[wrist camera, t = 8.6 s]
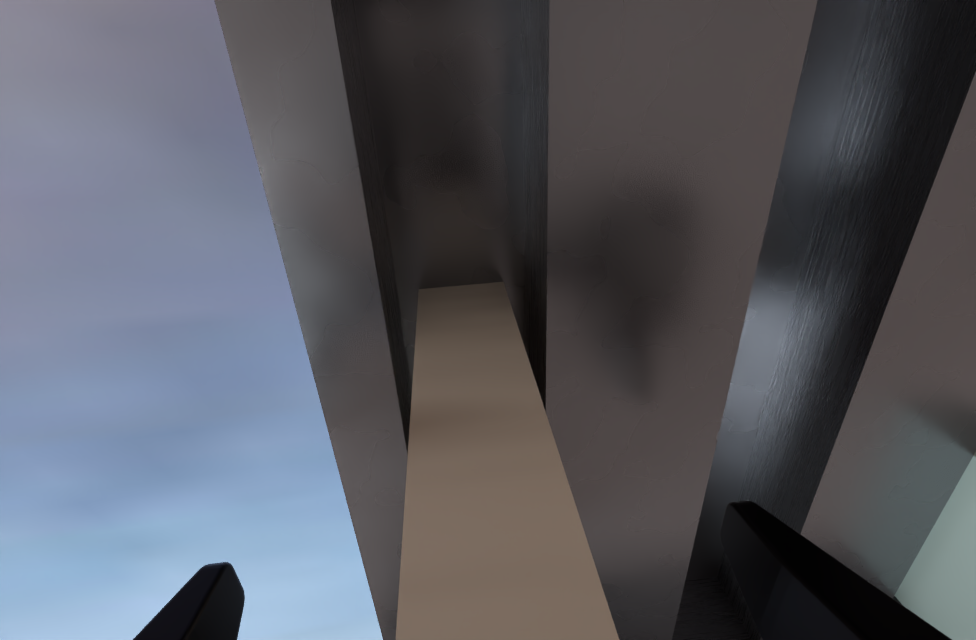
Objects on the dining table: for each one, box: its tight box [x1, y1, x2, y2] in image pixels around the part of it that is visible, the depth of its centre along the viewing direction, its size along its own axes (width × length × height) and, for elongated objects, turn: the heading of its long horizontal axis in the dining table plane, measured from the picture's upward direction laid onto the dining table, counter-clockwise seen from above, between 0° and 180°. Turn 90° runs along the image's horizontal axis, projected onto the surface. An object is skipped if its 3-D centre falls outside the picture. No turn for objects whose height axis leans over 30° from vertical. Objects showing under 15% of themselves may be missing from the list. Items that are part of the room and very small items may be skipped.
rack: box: [215, 0, 976, 640], centre depth 11 cm, size 22×20×7 cm
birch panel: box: [396, 282, 619, 640], centre depth 9 cm, size 6×2×9 cm, turn 3°
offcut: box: [894, 452, 976, 640], centre depth 14 cm, size 6×2×5 cm, turn 3°
